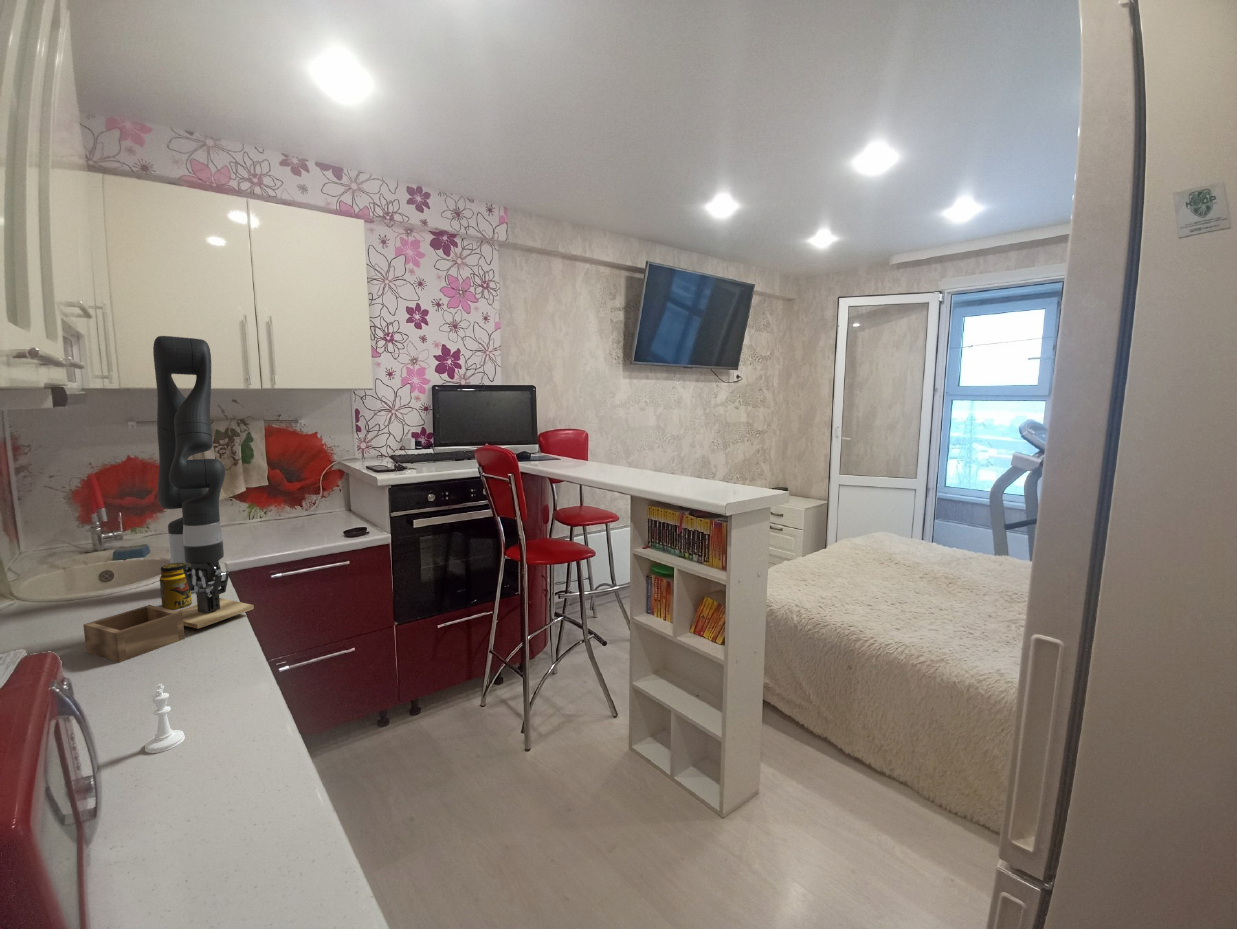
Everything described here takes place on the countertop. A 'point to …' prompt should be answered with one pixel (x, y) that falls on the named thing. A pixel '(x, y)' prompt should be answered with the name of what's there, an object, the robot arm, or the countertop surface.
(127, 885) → the countertop surface
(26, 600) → the countertop surface
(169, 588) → the condiment
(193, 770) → the countertop surface
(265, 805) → the countertop surface
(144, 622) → the box
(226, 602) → the lid
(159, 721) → the chess piece
